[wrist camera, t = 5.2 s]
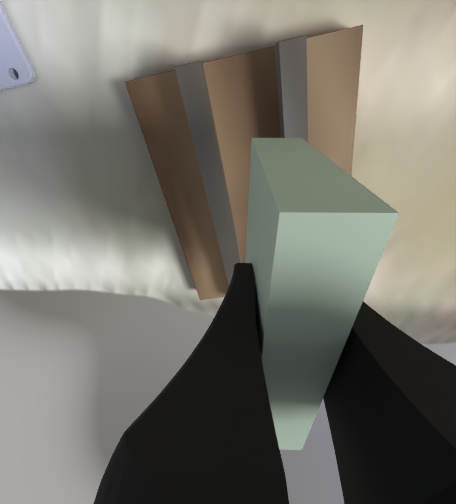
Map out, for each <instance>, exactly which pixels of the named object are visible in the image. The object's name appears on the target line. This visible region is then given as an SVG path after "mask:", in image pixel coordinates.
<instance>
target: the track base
mask: <svg viewBox="0 0 456 504" xmlns="http://www.w3.org/2000/svg"><path fill="white" fill-rule="evenodd" d="M362 34H363V25H360V26H356V27H352V28H348V29H343V30H339V31H335V32H331V33H327V34H323V35H318V36H314V37H310V38H307V35H306V36H301V37H297V38H293V39H289V40H285V41H281V42H278V43H277V44H276V45H275V46H273V47H268V48H264V49H260V50H256V51H252V52H248V53H243V54H239V55H235V56H231V57H227V58H223V59H218V60H214V61H210V62H206V63H202V62H201V61H198V62H194V63H189V64H185V65H181V66H177V67H175V70H172V71H168V72H164V73H160V74H156V75H152V76H147V77H143V78H139V79H135V80H131V81H127V82H125V83H126V86H127V89H128V91H129V94H130V97H131V100H132V103H133V106H134V109H135V112H136V115H137V118H138V121H139V124H140V126H141V129H142V132H143V135H144V138H145V141H146V144H147V147H148V150H149V153H150V156H151V158H152V161H153V164H154V167H155V170H156V173H157V176H158V179H159V182H160V185H161V188H162V190H163V193H164V196H165V199H166V202H167V205H168V208H169V211H170V214H171V217H172V220H173V222H174V225H175V228H176V231H177V234H178V237H179V240H180V243H181V246H182V249H183V252H184V254H185V257H186V260H187V263H188V266H189V269H190V272H191V275H192V278H193V281H194V284H195V286H196V289H197V292H198V295H199V298H200V300H204V299H211V298H219V297H225V295H226V293H227V290H228V288H229V285H230V282H231V279H232V276H233V271H234V265H235V264H236V263H245V262H246V241H247V221H248V200H249V180H250V159H251V139H252V138H303V139H304V140H305V141H306V142H308V143H309V144H310V145H312V146H313V147H314V148H315V149H317V150H318V151H319V152H321V153H322V154H323V155H325V156H326V157H327V158H328V159H330V160H331V161H332V162H334V163H335V164H336V165H337V166H339V167H340V168H341V169H343V170H344V171H345V172H346V173H348V174H349V175H350V176H351V172H352V160H353V147H354V134H355V122H356V109H357V97H358V84H359V71H360V59H361V46H362Z"/></svg>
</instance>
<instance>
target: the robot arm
mask: <svg viewBox="0 0 456 504" xmlns="http://www.w3.org/2000/svg"><path fill="white" fill-rule="evenodd" d="M14 69H15V70H16V71H17V72H18V75H19V78H18V79H17V78H16V77H15V76H14V73H13V71H14ZM35 79H36V74H35V71H34V68H33V66H32V64H31V62H30V60H29V58H28V56H27V54H26V52H25V50H24V48H23V46H22V44H21V42H20V40H19V38H18V36H17V34H16V32H15V30H14V28H13V26H12V24H11V22H10V20H9V18H8V16H7V14H6V12H5V10H4V8H3V6H2V4H1V2H0V91H1V90H5V89H9V88H13V87H17V86H21V85H25V84H29V83H32V82H34V81H35ZM323 399H324V403H325V407H326V412H327V416H328V421H329V425H330V430H331V435H332V440H333V445H334V449H335V454H336V459H337V464H338V470H339V475H340V481H341V486H342V491H343V496H344V503H345V504H456V366H455V365H454V364H452V363H450V362H449V361H447V360H445V359H444V358H442V357H440V356H439V355H437V354H436V353H434V352H432V351H431V350H429V349H428V348H426V347H424V346H423V345H421V344H420V343H418V342H417V341H415V340H414V339H413V338H411V337H410V336H408V335H407V334H405V333H404V332H402V331H401V330H399V329H398V328H397V327H395V326H394V325H393V324H391V323H390V322H388V321H387V320H386V319H385V318H383V317H382V316H381V315H379V314H378V313H377V312H376V311H374V310H373V309H372V308H371V307H369V306H368V305H367V304H366V303H364V302H362V304H361V307H360V309H359V311H358V314H357V316H356V319H355V321H354V324H353V326H352V329H351V331H350V333H349V336H348V338H347V341H346V343H345V346H344V348H343V350H342V353H341V355H340V358H339V360H338V363H337V365H336V368H335V370H334V372H333V375H332V377H331V380H330V382H329V385H328V387H327V389H326V392H325V394H324V397H323ZM94 504H289V500H288V493H287V485H286V478H285V472H284V468H283V463H282V459H281V454H280V450H279V446H278V441H277V436H276V431H275V426H274V422H273V417H272V412H271V407H270V402H269V397H268V392H267V386H266V381H265V375H264V370H263V364H262V358H261V352H260V346H259V339H258V333H257V326H256V314H255V274H254V269H253V265H252V263H236V264H235V265H234V271H233V276H232V279H231V282H230V285H229V288H228V290H227V293H226V295H225V297H224V300H223V302H222V304H221V306H220V308H219V310H218V312H217V314H216V316H215V318H214V319H213V321H212V323H211V325H210V326H209V328H208V330H207V331H206V333H205V335H204V336H203V338H202V339H201V341H200V342H199V344H198V345H197V347H196V348H195V349H194V351H193V352H192V354H191V355H190V357H189V358H188V359H187V361H186V362H185V364H184V365H183V366H182V367H181V369H180V370H179V371H178V372H177V373H176V375H175V376H174V377H173V378H172V380H171V381H170V382H169V383H168V384H167V386H166V387H165V388H164V389H163V391H162V392H161V393H160V394H159V395H158V396H157V397H156V399H155V400H154V401H153V402H152V403H151V404H150V405H149V406H148V407H147V408H146V409H145V410H144V412H143V413H142V414H141V415H140V416H139V417H138V418H137V419H136V420H135V421H134V422H133V423H132V424H131V426H130V427H129V428H128V429H127V430H126V431H125V432H124V434H123V436H122V437H121V439H120V441H119V443H118V445H117V447H116V449H115V451H114V453H113V455H112V457H111V459H110V461H109V464H108V466H107V468H106V471H105V473H104V475H103V478H102V480H101V483H100V486H99V489H98V492H97V495H96V498H95V501H94Z"/></svg>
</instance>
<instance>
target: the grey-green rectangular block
mask: <svg viewBox="0 0 456 504" xmlns="http://www.w3.org/2000/svg"><path fill="white" fill-rule="evenodd" d="M398 214H399V213H398V212H397V211H396V210H394V209H393V208H392V207H390V206H389V205H388V204H387V203H385V202H384V201H383V200H381V199H380V198H379V197H378V196H376V195H375V194H374V193H372V192H371V191H370V190H368V189H367V188H366V187H365V186H363V185H362V184H361V183H359V182H358V181H357V180H356V179H354V178H353V177H352V176H350V175H349V174H348V173H346V172H345V171H344V170H343V169H341V168H340V167H339V166H337V165H336V164H335V163H334V162H332V161H331V160H330V159H328V158H327V157H326V156H325V155H323V154H322V153H321V152H319V151H318V150H317V149H315V148H314V147H313V146H312V145H310V144H309V143H308V142H306V141H305V140H304V139H303V138H252V139H251V159H250V180H249V200H248V221H247V241H246V262H245V263H252V265H253V269H254V274H255V314H256V326H257V333H258V339H259V346H260V352H261V358H262V364H263V370H264V375H265V381H266V386H267V392H268V397H269V402H270V407H271V412H272V417H273V422H274V426H275V431H276V436H277V441H278V446H279V449H280V450H302V447H303V445H304V443H305V440H306V438H307V436H308V433H309V431H310V428H311V426H312V423H313V421H314V419H315V416H316V413H317V411H318V409H319V406H320V404H321V402H322V399H323V397H324V394H325V392H326V389H327V387H328V385H329V382H330V380H331V377H332V375H333V372H334V370H335V368H336V365H337V363H338V360H339V358H340V355H341V353H342V350H343V348H344V346H345V343H346V341H347V338H348V336H349V333H350V331H351V329H352V326H353V324H354V321H355V319H356V316H357V314H358V311H359V309H360V307H361V304H362V302H363V299H364V297H365V294H366V292H367V290H368V287H369V285H370V282H371V280H372V277H373V275H374V273H375V270H376V268H377V265H378V263H379V260H380V258H381V255H382V253H383V251H384V248H385V246H386V243H387V241H388V238H389V236H390V234H391V231H392V229H393V226H394V224H395V221H396V219H397V216H398Z"/></svg>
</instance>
